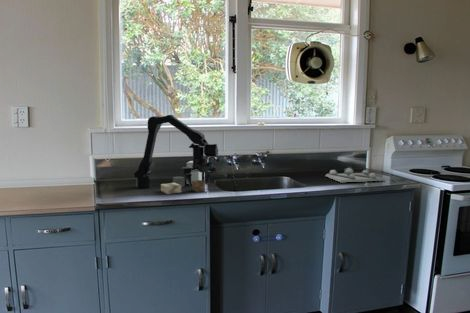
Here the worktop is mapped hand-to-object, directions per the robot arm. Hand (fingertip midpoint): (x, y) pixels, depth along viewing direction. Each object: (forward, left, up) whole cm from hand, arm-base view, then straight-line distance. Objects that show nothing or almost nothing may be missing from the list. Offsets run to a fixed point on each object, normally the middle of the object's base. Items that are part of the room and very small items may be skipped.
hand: (198, 185), depth 216 cm
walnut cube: (0, 0, -3) cm, 3 cm away
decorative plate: (+99, -18, -4) cm, 101 cm away
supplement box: (+6, +18, -3) cm, 19 cm away
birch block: (-14, +4, -3) cm, 15 cm away
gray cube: (-5, +15, -3) cm, 16 cm away
